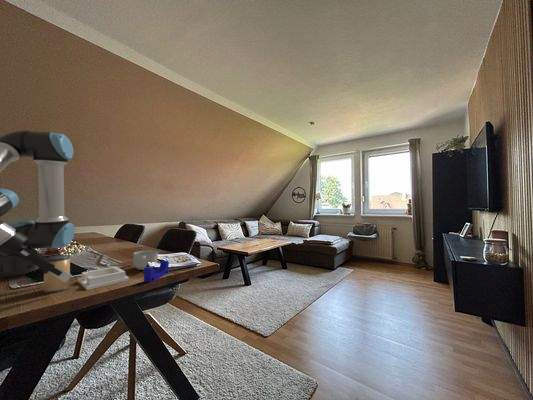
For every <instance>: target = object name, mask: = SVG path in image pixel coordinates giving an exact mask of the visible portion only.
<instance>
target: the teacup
mask: <svg viewBox="0 0 533 400" xmlns="http://www.w3.org/2000/svg"><path fill="white" fill-rule="evenodd" d="M158 254H159V252H158V251H157V250H155V251H154V250H140V251H135V252H133V257H132V258H133V259H132V260H133V261H132V264H133V267H134V268H136V269H137V270H139V271H144V268H145V267H146V266H147V263H148V262H151V263H152V262H157V263H158V256H159V255H158Z"/></svg>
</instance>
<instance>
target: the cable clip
mask: <svg viewBox="0 0 533 400" xmlns="http://www.w3.org/2000/svg"><path fill="white" fill-rule="evenodd" d="M169 265H170V263H169V260H160V264H159V266H158V267H157V268H155V270H154V267H145V268H144V270H143V282H144V283H152V282H154V281H156V280H158V279H161V278H162V276H163V275H165V274H166V273H168V274H169ZM165 276H166V275H165ZM160 277H161V278H160ZM163 277H164V276H163Z"/></svg>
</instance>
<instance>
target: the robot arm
mask: <svg viewBox="0 0 533 400" xmlns="http://www.w3.org/2000/svg"><path fill="white" fill-rule="evenodd" d="M73 156H74V148H73V143H72V142H71V139H70V138H69V137H67V135H65V134H63V133H57V132H51V131H50V132H48V131H35V130H34V131H32V130H24V129H23V130H16V131H15V130H14V131H12V132H8V133H5V134H3V135H1V136H0V173H2V171H4V169H5V168H6V167H7V166H9V165H10V163H13V162H17V161H18V160H19V159H20V158H21V159H22V158H29V157H30V158H32V160H33V162H34V163H36V164H37V170H38V172H37V173H38V207H39V212H38V213H39V216H38V218H36V219H35V220H25V221H19V222H18V221H17V222H9V223H8V222H7V223H6V222H4V221H2V220H1V219H0V279H1V278H3V279H4V278H10V277H17V276H23V275H28V274H30V273H29V272H31V273H33V272H32V271H34V272H36V271H35V270H37V269H38V270H39V268H40V269H41V270H42V271H43V275H44V274H47V273H50V274H51V275H53V276H55V277H57V278H58V279H60V280H62V281H64V282H66V281H67V280H68V279H69V278H72V277H73V274H71V273H70V274H69V273H67V272H66V271H64V270H62V269H61V268H59V267H57V266H56V265H55V266H54V264H51V263H50V262H48V261H47V260H45V258H47V257H50V256H49V255H47V256H46V255H44V254H42V253H40V252H38V250H39V249H40V250H41V249H42V250H43V249H44V250H45V249H59V248H60V249H61V248H65V247H67V246H69V245H70V243H71V242H72V241H73V239H74V237H75V232H76V231H75V230H76V228H75V225H74V224H73V223H71V222H69V220H70V219H69V218H68V217H67V216H66V215H65V182H64V180H65V179H64V178H65V175H64V173H65V171H64V167H65V166H66V165H67V164H68V162H69V161H68V160H71V159H73ZM19 202H20V198H19V196H18V195H17V193H16V192H14V191H13V190H10V189H7V188H0V218H1V217H2V216H3V215H5V214H7V213H8V212H10V211H12V210H13V208H15V207H16V206H17V205H18V204H19ZM47 266H48V267H47ZM38 270H37V271H38ZM44 271H45V272H44ZM27 273H28V274H27Z"/></svg>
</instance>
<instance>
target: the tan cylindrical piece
mask: <svg viewBox="0 0 533 400" xmlns="http://www.w3.org/2000/svg"><path fill="white" fill-rule="evenodd" d="M45 260H47V261H48V262H50V263H51V264H54V266H55V265H56V266H57V267H59V268H61V269H62V270H64V271H66V272H67V273H69V274H71V271H70V270H71V254H70V255H69V254H63V255H62V254H60V255H52V256H51V255H50V256H49V257H47V258H45ZM47 267H48V266H47ZM43 272H45V271H44V270H43ZM70 278H71V277H70ZM70 278H69V279H68V280H67V281H66V282H64V281H62V280H60V279H58V278H57V277H55V276H53V275H51V274H50V273H47V274H44V273H43V293H44V294H49V295H50V294H56V293H61V292H64V291H67V290H69V289H70Z"/></svg>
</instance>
